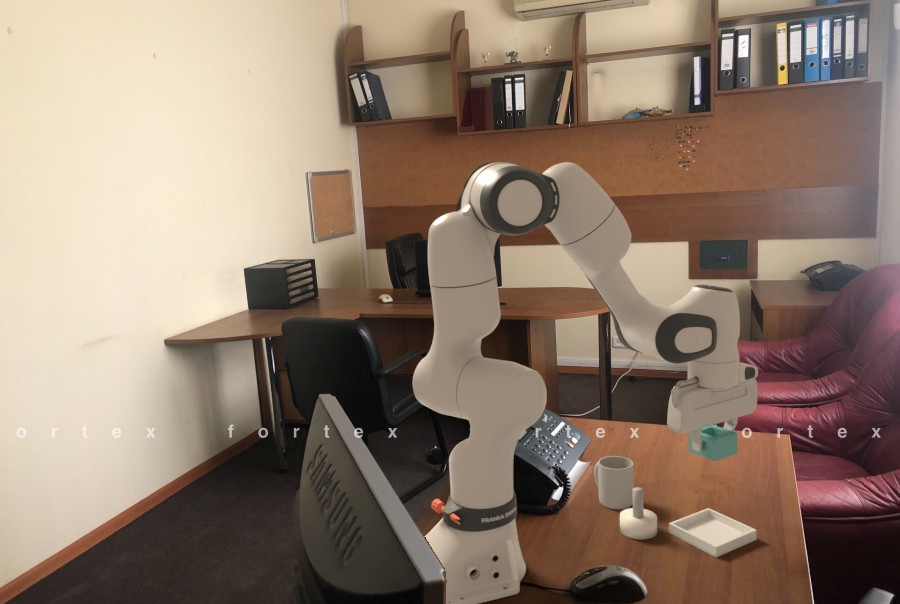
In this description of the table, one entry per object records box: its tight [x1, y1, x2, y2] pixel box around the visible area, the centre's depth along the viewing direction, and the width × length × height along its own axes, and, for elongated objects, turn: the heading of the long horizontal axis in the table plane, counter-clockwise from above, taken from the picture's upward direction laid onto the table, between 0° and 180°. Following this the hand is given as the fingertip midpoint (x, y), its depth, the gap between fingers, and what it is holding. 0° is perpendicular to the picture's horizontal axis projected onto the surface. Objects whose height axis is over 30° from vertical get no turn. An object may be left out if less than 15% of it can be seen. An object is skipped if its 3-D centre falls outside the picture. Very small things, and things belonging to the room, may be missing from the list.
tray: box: [668, 507, 758, 558], centre depth 131 cm, size 11×11×2 cm
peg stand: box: [619, 487, 658, 541], centre depth 134 cm, size 7×7×8 cm
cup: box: [593, 455, 635, 510], centre depth 147 cm, size 7×10×9 cm
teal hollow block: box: [688, 424, 739, 462], centre depth 128 cm, size 6×8×4 cm
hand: (712, 445), depth 128 cm, fingers closed on teal hollow block, 6 cm apart
